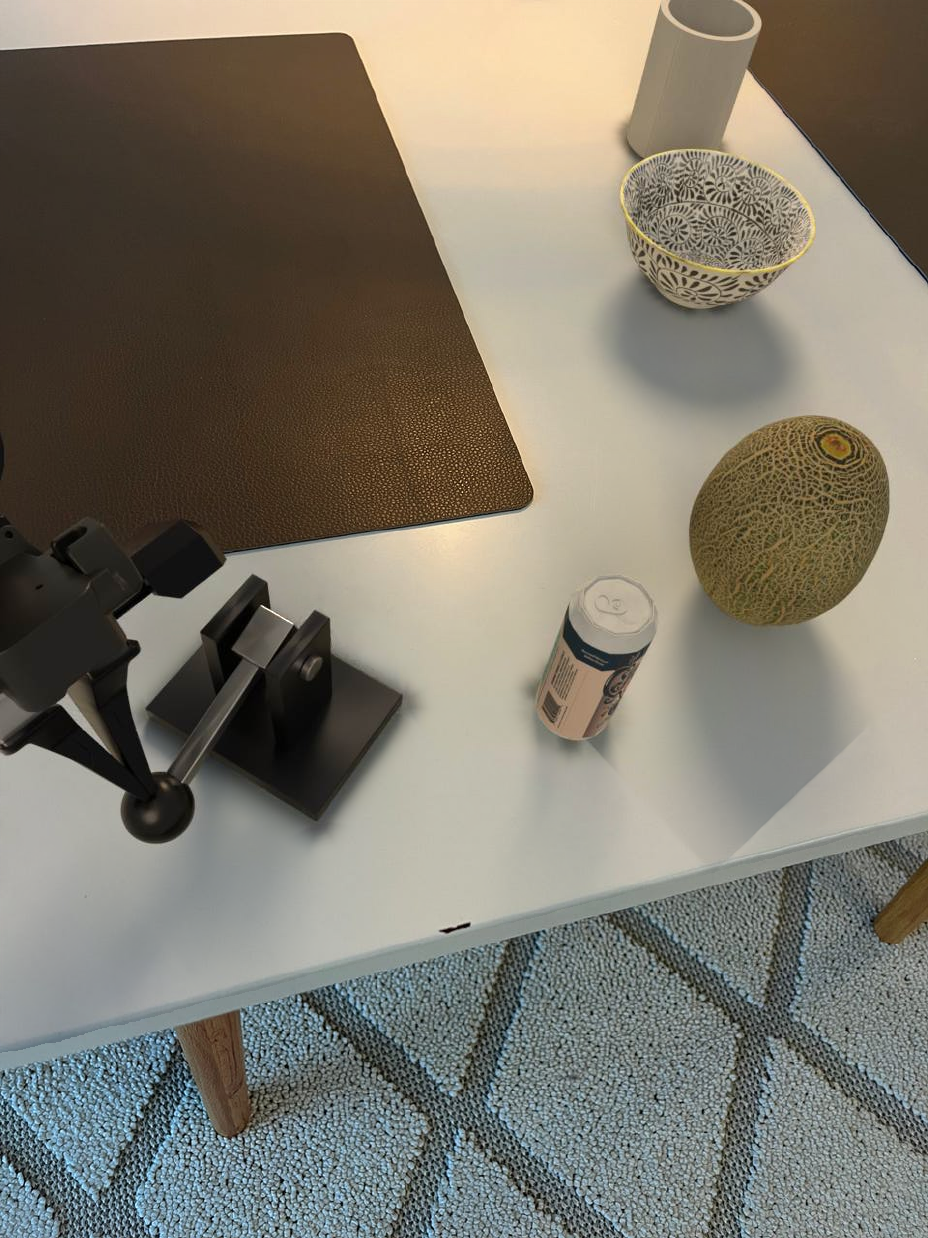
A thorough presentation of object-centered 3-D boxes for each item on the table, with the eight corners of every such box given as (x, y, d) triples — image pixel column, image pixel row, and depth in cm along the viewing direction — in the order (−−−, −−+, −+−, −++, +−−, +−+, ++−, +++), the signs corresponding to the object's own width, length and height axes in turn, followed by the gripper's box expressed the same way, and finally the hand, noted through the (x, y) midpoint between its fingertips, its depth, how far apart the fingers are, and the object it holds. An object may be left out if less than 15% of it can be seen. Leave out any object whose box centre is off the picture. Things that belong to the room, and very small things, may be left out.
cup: (608, 132, 94) (640, 2, 84) (669, 107, 98) (707, -21, 88) (674, 180, 91) (715, 50, 81) (735, 151, 94) (781, 24, 84)
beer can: (606, 750, 58) (661, 652, 48) (529, 736, 58) (568, 634, 48) (611, 682, 60) (665, 575, 50) (538, 668, 60) (576, 558, 50)
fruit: (631, 562, 66) (698, 406, 53) (748, 501, 70) (835, 344, 57) (740, 688, 61) (842, 550, 49) (858, 615, 65) (980, 471, 53)
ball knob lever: (178, 859, 49) (152, 855, 45) (123, 823, 50) (93, 817, 46) (317, 645, 52) (303, 627, 48) (264, 614, 53) (246, 593, 49)
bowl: (668, 367, 77) (696, 290, 70) (566, 248, 83) (584, 169, 77) (816, 318, 82) (855, 242, 76) (709, 210, 89) (736, 133, 82)
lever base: (316, 822, 53) (311, 750, 45) (148, 717, 56) (113, 630, 48) (402, 703, 58) (411, 618, 50) (243, 610, 60) (226, 514, 52)
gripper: (-306, 696, 29) (28, 1010, 35) (167, 389, 38) (367, 685, 44) (-300, 669, 38) (-33, 925, 44) (83, 424, 47) (260, 667, 53)
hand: (148, 795), depth 46 cm, fingers closed
